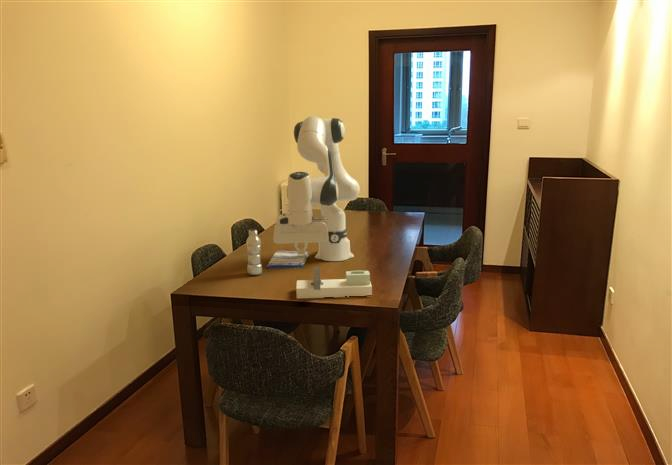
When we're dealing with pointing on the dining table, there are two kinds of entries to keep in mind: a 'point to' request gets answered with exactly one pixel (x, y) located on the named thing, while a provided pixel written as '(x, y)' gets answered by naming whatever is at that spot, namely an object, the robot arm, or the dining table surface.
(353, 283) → the cover
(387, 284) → the dining table surface
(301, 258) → the dish towel
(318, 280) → the grey bar
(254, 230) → the plastic bottle
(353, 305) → the dining table surface
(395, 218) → the dining table surface
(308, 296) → the housing
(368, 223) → the dining table surface
